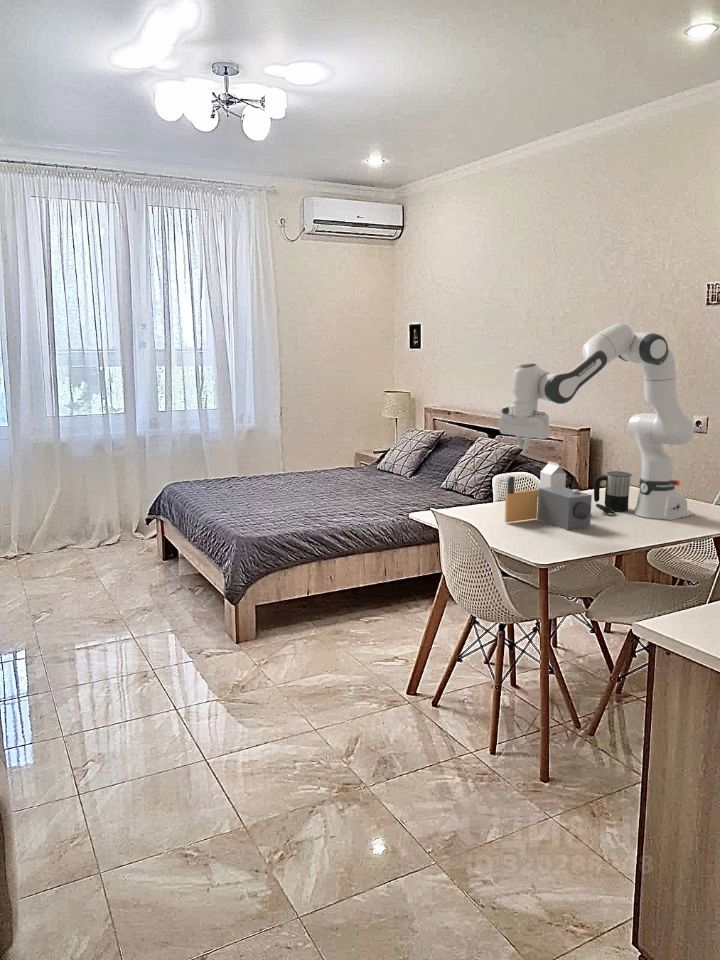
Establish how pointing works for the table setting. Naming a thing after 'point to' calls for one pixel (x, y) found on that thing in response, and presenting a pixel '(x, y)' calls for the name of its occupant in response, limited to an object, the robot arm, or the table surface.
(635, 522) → the table surface
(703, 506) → the table surface
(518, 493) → the tan flat panel
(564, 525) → the camera body
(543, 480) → the milk carton
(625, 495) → the milk frother
